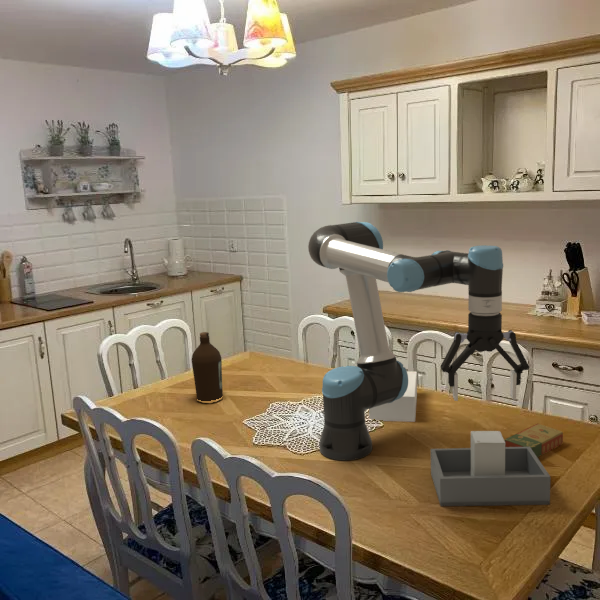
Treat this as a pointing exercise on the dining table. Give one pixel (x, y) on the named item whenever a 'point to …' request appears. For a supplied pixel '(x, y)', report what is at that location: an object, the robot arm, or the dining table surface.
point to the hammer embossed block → (399, 405)
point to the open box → (489, 479)
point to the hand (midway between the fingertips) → (483, 398)
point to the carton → (536, 439)
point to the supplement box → (487, 453)
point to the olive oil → (207, 370)
